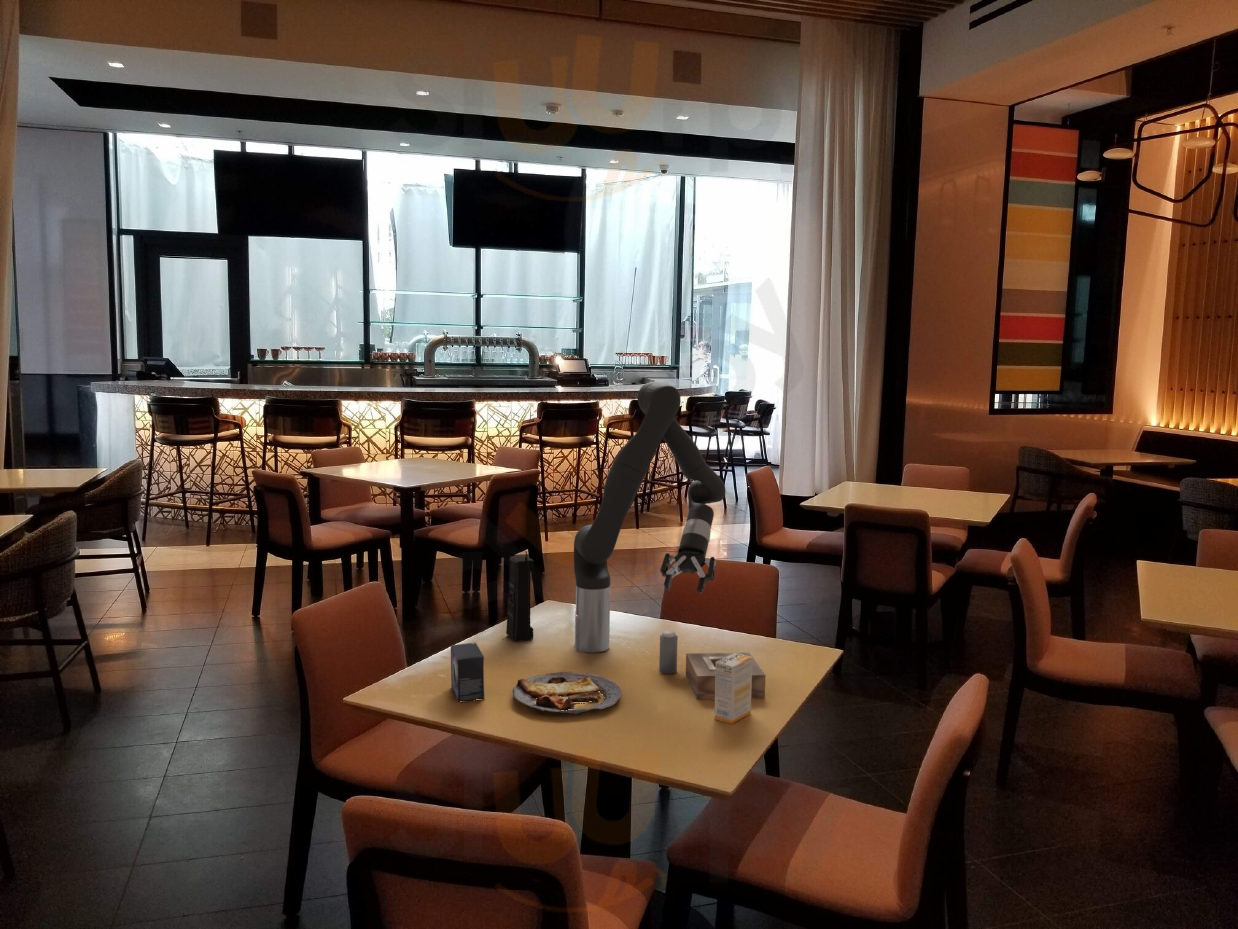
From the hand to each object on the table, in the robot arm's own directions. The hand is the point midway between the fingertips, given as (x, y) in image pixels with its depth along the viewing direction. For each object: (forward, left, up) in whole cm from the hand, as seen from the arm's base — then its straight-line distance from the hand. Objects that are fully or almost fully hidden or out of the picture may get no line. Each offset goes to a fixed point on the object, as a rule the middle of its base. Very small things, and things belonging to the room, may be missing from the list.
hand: (683, 590), depth 235 cm
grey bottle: (-5, -11, -18) cm, 21 cm away
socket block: (+7, -22, -18) cm, 29 cm away
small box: (-54, -24, -18) cm, 62 cm away
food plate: (-31, -28, -18) cm, 45 cm away
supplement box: (+5, -40, -18) cm, 44 cm away
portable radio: (-43, +18, -18) cm, 50 cm away
